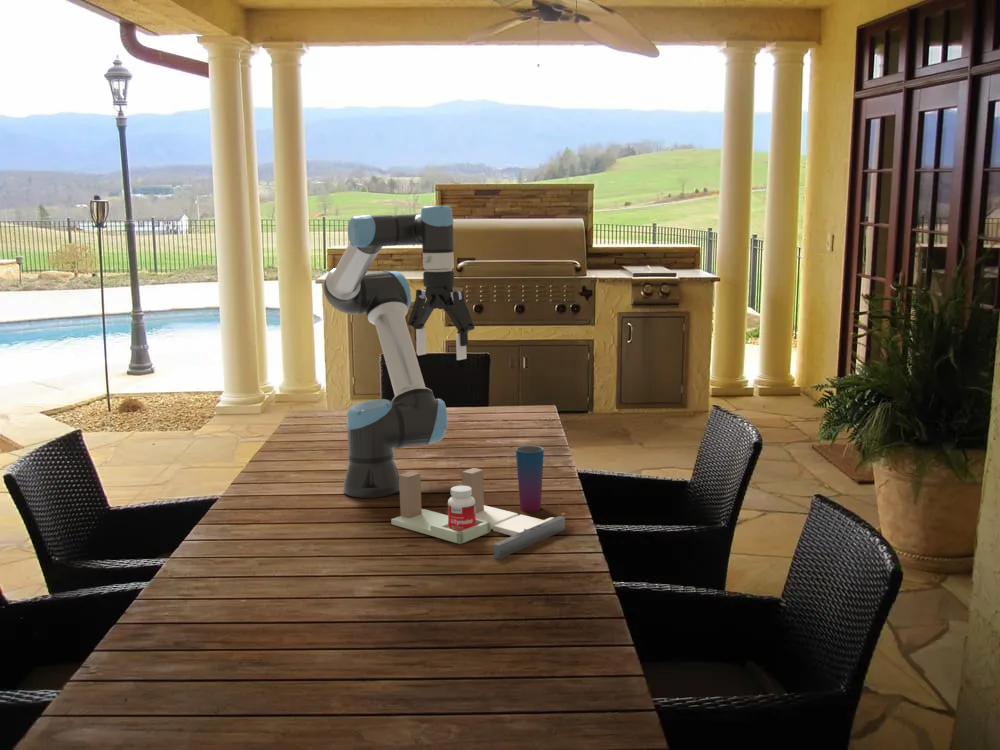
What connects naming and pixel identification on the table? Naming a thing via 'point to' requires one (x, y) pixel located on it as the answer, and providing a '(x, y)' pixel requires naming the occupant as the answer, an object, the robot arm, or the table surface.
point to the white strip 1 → (483, 512)
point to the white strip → (518, 524)
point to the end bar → (528, 537)
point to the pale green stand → (429, 514)
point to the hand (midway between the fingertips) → (441, 357)
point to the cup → (530, 476)
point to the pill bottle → (461, 508)
